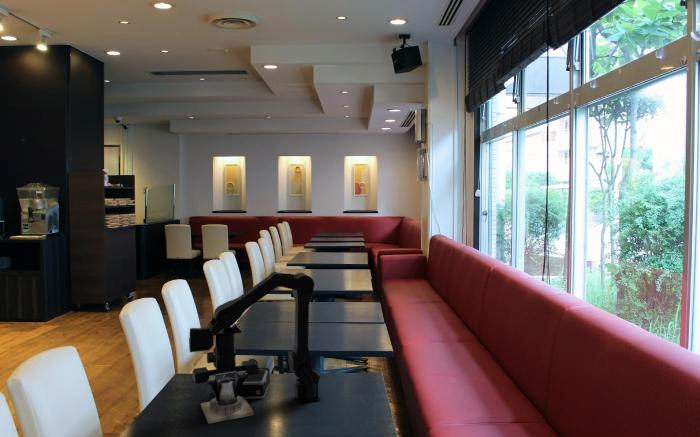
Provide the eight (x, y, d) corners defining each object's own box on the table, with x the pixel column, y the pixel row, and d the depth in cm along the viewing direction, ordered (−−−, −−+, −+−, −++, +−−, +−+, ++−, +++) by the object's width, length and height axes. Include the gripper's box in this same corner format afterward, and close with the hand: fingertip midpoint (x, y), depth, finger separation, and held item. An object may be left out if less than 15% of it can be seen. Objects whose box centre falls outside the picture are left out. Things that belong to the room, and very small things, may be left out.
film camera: (230, 380, 185) (273, 379, 185) (216, 404, 169) (264, 403, 168) (228, 358, 184) (271, 357, 183) (214, 380, 168) (262, 379, 167)
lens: (236, 404, 158) (236, 381, 158) (219, 408, 156) (219, 384, 156) (233, 398, 163) (232, 375, 162) (216, 401, 161) (216, 378, 160)
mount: (242, 399, 168) (242, 389, 168) (253, 415, 157) (253, 405, 156) (200, 406, 163) (200, 396, 163) (208, 423, 151) (208, 413, 151)
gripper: (249, 337, 170) (250, 385, 171) (188, 344, 162) (190, 395, 163) (258, 346, 160) (259, 397, 161) (194, 355, 152) (196, 409, 153)
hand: (226, 399), depth 160 cm, fingers closed on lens, 5 cm apart
